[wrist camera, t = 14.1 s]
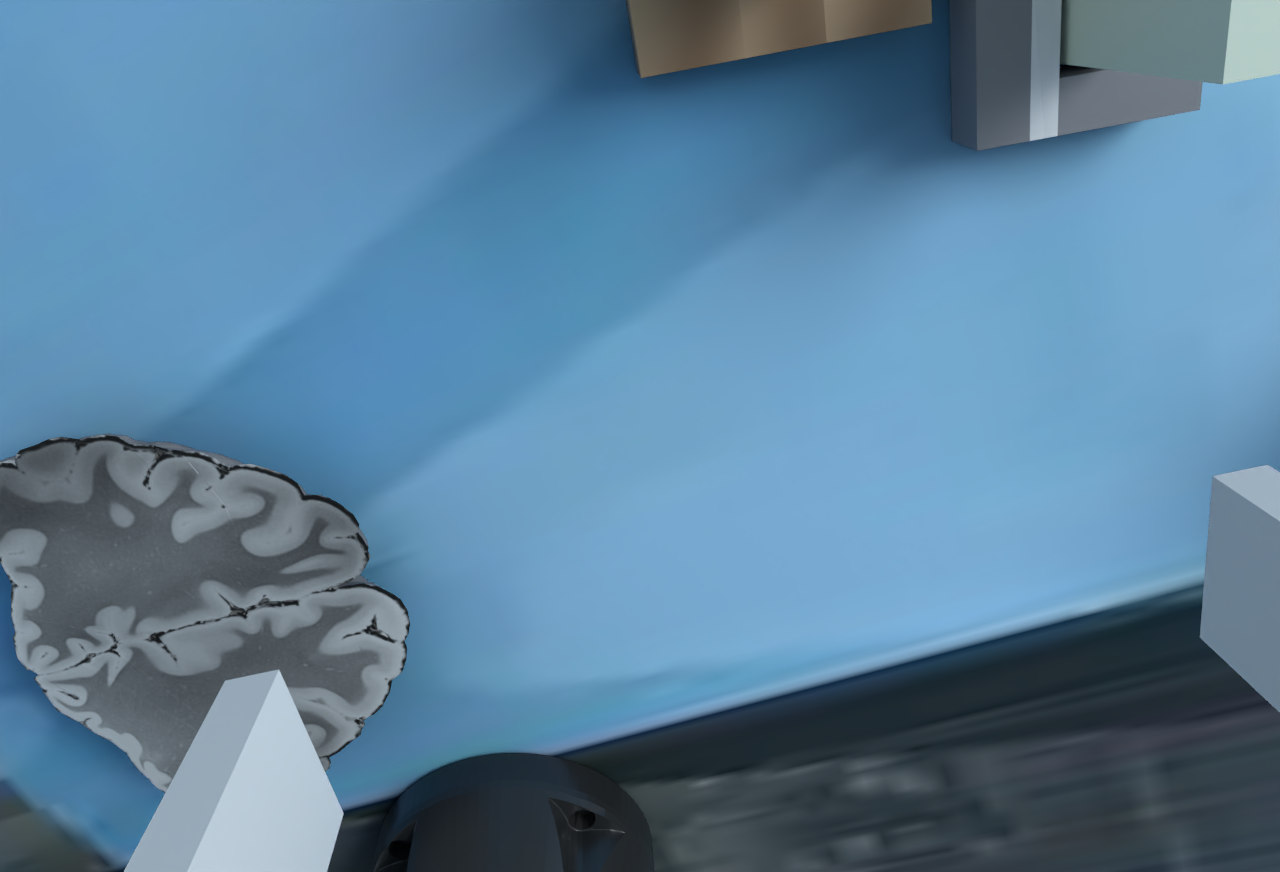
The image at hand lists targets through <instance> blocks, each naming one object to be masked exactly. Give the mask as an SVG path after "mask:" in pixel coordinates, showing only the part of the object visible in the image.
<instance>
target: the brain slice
mask: <svg viewBox="0 0 1280 872" xmlns="http://www.w3.org/2000/svg"><path fill="white" fill-rule="evenodd" d="M369 558H370V555H369V552H368V544H367V539H366V538H365V536H364V535H363V533H362V532H361V530H360V528H359V523H358V522H357V520H356V518H355V517H354V515H353V514H352V513H350V512H349V511H348V510H347V509H345V508H344V507H343V506H342V505H340V504H339V503H337V502H335V501H333V500H331V499H330V498H327V497H325V496H322V495H308V494H307V493H306V492H305V491H304V489H303V488H302V487H301V486H300V485H299V484H298V483H296V482H295V481H294V480H292V479H291V478H289V477H288V476H286V475H284V474H281V473H279V472H276V471H273V470H270V469H267V468H264V467H260V466H256V465H253V464H242V463H241V462H239V461H238V460H235V459H232V458H229V457H226V456H223V455H220V454H215V453H210V452H205V451H200V450H195V449H193V448H190V447H187V446H184V445H179V444H175V443H171V442H143V441H137V440H133V439H131V438H130V437H128V436H123V435H115V434H102V435H96V436H89V437H85V438H81V439H72V438H65V437H59V438H53V439H48V440H46V441H44V442H41V443H39V444H37V445H35V446H32V447H29V448H26V449H23V450H20V451H19V452H18V453H17V454H16V456H13V457H10V458H7V459H4V460H2V461H0V562H1V564H2V566H3V568H4V570H5V572H6V574H7V576H8V578H9V580H10V582H11V584H12V591H11V617H12V621H13V626H14V629H15V634H14V637H13V640H14V645H15V650H16V654H17V658H18V660H19V661H20V662H21V663H22V664H23V665H24V667H25V668H26V669H27V670H31V671H33V672H35V673H37V676H36V677H35V678H34V680H35V681H36V682H37V683H38V685H39V686H40V687H41V688H42V690H43V692H44V693H45V695H46V696H47V697H48V699H49V700H50V702H51V703H52V704H53V706H54V707H55V709H56V710H58V711H59V712H61V713H63V714H64V715H66V716H68V717H69V718H71V719H73V720H76V721H78V722H80V723H81V724H82V725H84V726H85V727H86V728H88V729H89V730H91V731H92V732H94V733H96V734H97V735H99V736H101V737H103V738H105V739H107V740H110V741H111V742H112V743H114V744H115V745H116V746H118V747H119V748H120V749H122V750H123V751H124V752H125V753H127V754H128V756H129V758H130V759H131V761H132V762H133V764H134V765H135V766H136V767H137V769H138V770H139V771H140V772H141V773H142V774H143V775H144V776H146V777H147V778H148V779H149V780H150V781H151V782H152V783H153V784H154V786H155V787H156V788H158V789H160V790H161V791H163V792H165V793H166V791H167V789H168V787H169V785H170V784H171V782H172V780H173V778H174V776H175V774H176V772H177V770H178V769H179V767H180V765H181V763H182V761H183V759H184V757H185V755H186V753H187V752H188V750H189V748H190V746H191V744H192V742H193V740H194V738H195V736H196V735H197V733H198V731H199V729H200V727H201V725H202V723H203V721H204V720H205V718H206V716H207V714H208V712H209V710H210V708H211V706H212V704H213V703H214V701H215V699H216V697H217V695H218V693H219V691H220V689H221V688H222V686H223V684H224V682H225V681H226V680H231V679H236V678H240V677H245V676H250V675H255V674H260V673H264V672H269V671H274V670H280V673H281V675H282V677H283V679H284V681H285V684H286V686H287V688H288V690H289V693H290V695H291V697H292V699H293V702H294V704H295V706H296V708H297V710H298V713H299V715H300V717H301V719H302V722H303V724H304V726H305V728H306V731H307V733H308V735H309V737H310V740H311V742H312V744H313V746H314V748H315V751H316V753H317V755H318V757H319V760H320V762H321V764H322V766H323V769H324V771H327V770H328V769H329V767H330V763H331V761H330V759H329V757H331V756H332V755H334V754H336V753H338V752H339V751H341V750H342V749H343V748H344V747H345V746H346V745H348V744H349V743H350V742H351V741H353V740H354V739H356V738H357V737H358V736H359V735H361V730H362V728H363V727H364V725H365V723H364V720H365V719H366V718H367V717H369V716H371V715H373V714H375V713H376V712H377V711H378V710H379V709H380V708H381V707H382V706H383V704H384V702H385V700H386V698H387V696H388V694H389V692H390V688H391V683H392V680H393V679H394V678H395V677H397V676H398V675H399V674H400V673H401V672H402V670H403V668H404V664H405V661H406V654H407V647H406V644H405V642H404V641H405V639H406V637H407V635H408V633H409V626H410V622H409V616H408V611H407V609H406V607H405V606H404V604H403V603H402V601H401V599H399V598H398V597H396V596H395V595H393V594H392V593H390V592H388V591H386V590H384V589H382V588H380V587H379V586H377V585H376V584H374V583H370V582H368V581H367V580H366V579H365V578H364V577H363V576H361V575H360V573H361V572H362V571H363V569H364V568H365V566H366V564H367V562H368V560H369Z"/></svg>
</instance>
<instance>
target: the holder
mask: <svg viewBox="0 0 1280 872" xmlns="http://www.w3.org/2000/svg"><path fill="white" fill-rule="evenodd" d="M626 5H627V11H628V17H629V23H630V29H631V36H632V42H633V48H634V54H635V61H636V67H637V73H638V74H639V76H640V77H641V78H644V77H649V76H655V75H660V74H665V73H670V72H676V71H681V70H686V69H692V68H697V67H702V66H707V65H713V64H718V63H723V62H729V61H734V60H739V59H744V58H750V57H755V56H760V55H766V54H771V53H776V52H782V51H787V50H792V49H797V48H803V47H808V46H813V45H819V44H824V43H829V42H834V41H840V40H845V39H850V38H856V37H861V36H866V35H871V34H877V33H882V32H887V31H893V30H898V29H903V28H908V27H914V26H919V25H924V24H930V23H932V0H626Z"/></svg>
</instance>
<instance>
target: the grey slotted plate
mask: <svg viewBox="0 0 1280 872" xmlns="http://www.w3.org/2000/svg"><path fill="white" fill-rule="evenodd" d="M1061 6H1062V0H949V18H950V71H951V124H952V142H955V143H958V144H960V145H963V146H966V147H968V148H971V149H974V150H976V151H979V150H984V149H990V148H995V147H1001V146H1006V145H1011V144H1017V143H1022V142H1028V141H1033V140H1038V139H1044V138H1049V137H1055V136H1060V135H1065V134H1071V133H1076V132H1082V131H1087V130H1092V129H1098V128H1103V127H1109V126H1114V125H1119V124H1125V123H1130V122H1136V121H1141V120H1147V119H1152V118H1157V117H1163V116H1168V115H1174V114H1179V113H1184V112H1190V111H1195V110H1200V102H1201V92H1202V82H1200V81H1192V80H1184V79H1176V78H1169V77H1161V76H1153V75H1145V74H1137V73H1129V72H1122V71H1114V70H1106V69H1098V68H1090V67H1082V66H1074V65H1071V66H1065V67H1060V39H1061Z"/></svg>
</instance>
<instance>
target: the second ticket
mask: <svg viewBox="0 0 1280 872" xmlns="http://www.w3.org/2000/svg"><path fill="white" fill-rule="evenodd" d="M1060 64H1067V65H1074V66H1082V67H1090V68H1098V69H1106V70H1114V71H1122V72H1129V73H1137V74H1145V75H1153V76H1161V77H1169V78H1176V79H1184V80H1192V81H1200V82H1208V83H1216V84H1228V83H1233V82H1238V81H1244V80H1249V79H1255V78H1260V77H1265V76H1271V75H1276V74H1280V0H1062V6H1061V39H1060Z"/></svg>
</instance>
